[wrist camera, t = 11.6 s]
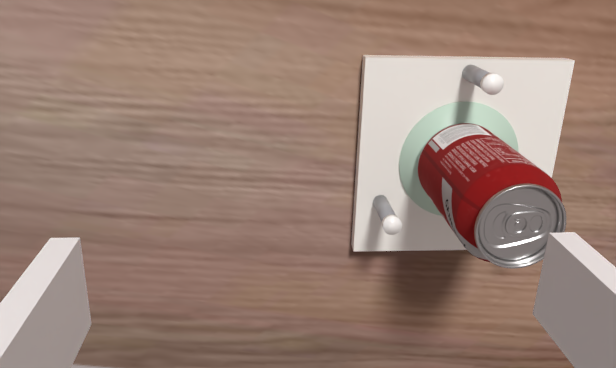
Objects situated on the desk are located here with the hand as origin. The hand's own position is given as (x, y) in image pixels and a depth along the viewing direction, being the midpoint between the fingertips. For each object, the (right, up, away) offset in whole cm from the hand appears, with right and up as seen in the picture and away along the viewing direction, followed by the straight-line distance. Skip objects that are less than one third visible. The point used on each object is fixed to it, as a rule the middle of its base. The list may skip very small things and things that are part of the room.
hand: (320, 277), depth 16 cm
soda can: (+11, +5, +29) cm, 31 cm away
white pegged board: (+12, +5, +30) cm, 32 cm away
